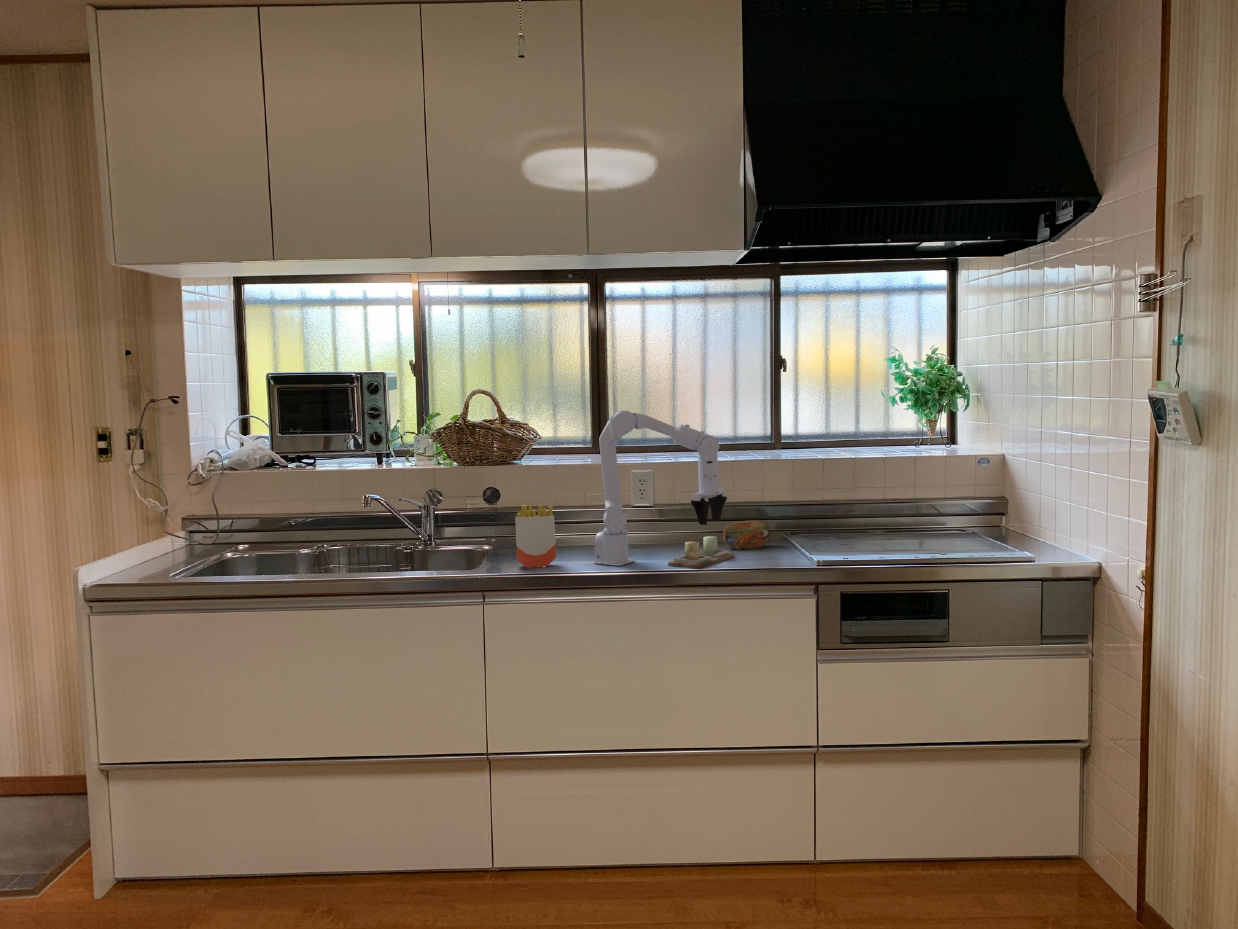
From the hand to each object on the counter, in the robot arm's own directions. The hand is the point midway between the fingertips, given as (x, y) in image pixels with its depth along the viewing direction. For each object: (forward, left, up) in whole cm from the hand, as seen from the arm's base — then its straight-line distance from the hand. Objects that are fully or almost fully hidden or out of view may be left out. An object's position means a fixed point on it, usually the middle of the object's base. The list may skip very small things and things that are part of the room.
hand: (709, 522), depth 242 cm
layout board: (0, -5, -10) cm, 12 cm away
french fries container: (-39, -32, -11) cm, 52 cm away
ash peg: (0, -10, -9) cm, 14 cm away
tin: (+1, +20, -11) cm, 23 cm away
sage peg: (0, 0, -9) cm, 9 cm away
